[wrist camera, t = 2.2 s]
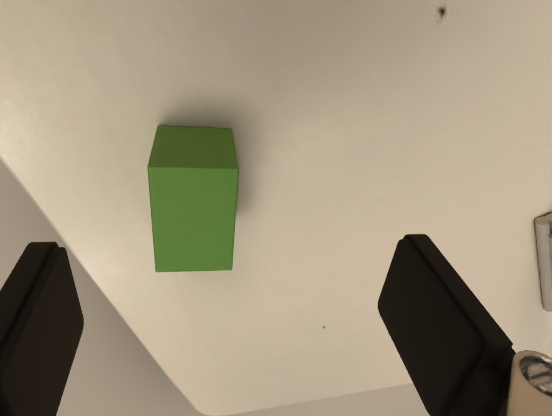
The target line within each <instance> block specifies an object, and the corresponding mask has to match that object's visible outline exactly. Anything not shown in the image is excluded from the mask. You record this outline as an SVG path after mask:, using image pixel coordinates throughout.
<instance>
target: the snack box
mask: <svg viewBox="0 0 552 416" xmlns="http://www.w3.org/2000/svg"><path fill="white" fill-rule="evenodd" d="M238 170H239V169H238V163H237V157H236V152H235V146H234V140H233V134H232V129H227V128H205V127H182V126H160V125H159V126H158V127H157V131H156V135H155V139H154V143H153V147H152V151H151V155H150V159H149V164H148V179H149V192H150V205H151V218H152V231H153V244H154V257H155V270H156V272H180V271H218V270H232V262H233V247H234V232H235V216H236V201H237V186H238Z"/></svg>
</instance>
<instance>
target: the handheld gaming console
mask: <svg viewBox="0 0 552 416" xmlns="http://www.w3.org/2000/svg"><path fill="white" fill-rule="evenodd" d="M535 229H536V239H537V250H538V260H539V271H540V281H541V292H542V302H543V309H544V310H546V311H548V312H551V311H552V213H550V214H548V215H546V216H545V217H544V216H541V217H537V218H536V219H535Z"/></svg>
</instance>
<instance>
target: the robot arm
mask: <svg viewBox="0 0 552 416" xmlns="http://www.w3.org/2000/svg"><path fill="white" fill-rule="evenodd" d="M378 310H379V313H380V316H381V318H382V320H383V322H384V324H385V326H386V328H387V330H388V332H389V334H390V336H391V338H392V340H393V342H394V344H395V346H396V349H397V351H398V353H399V355H400V357H401V359H402V361H403V363H404V365H405V367H406V369H407V371H408V373H409V375H410V377H411V379H412V381H413V383H414V385H415V387H416V390H417V392H418V394H419V396H420V398H421V400H422V402H423V404H424V406H425V408H426V410H427V412H428V413H429V414H430V416H552V358H551V357H549V356H547V355H545V354H542V353H539V352H536V351H529V350H525V351H519V352H518V353H517V354H516V353H515V351H514V350H513V349H512V347H511V346H512V345H513V343H512V342H511V341H510V339H509V338H508V337H507V336H506V334H505V333H504V332H503V330H502V329H501V328H500V327H499V325H498V324H497V323H496V322H495V320H494V319H493V318H492V317H491V315H490V314H489V313H488V311H487V310H486V309H485V308H484V306H483V305H482V304H481V303H480V301H479V300H478V299H477V298H476V296H475V295H474V294H473V292H472V291H471V290H470V289H469V287H468V286H467V285H466V284H465V282H464V281H463V280H462V279H461V277H460V276H459V275H458V273H457V272H456V271H455V270H454V268H453V267H452V266H451V265H450V263H449V262H448V261H447V260H446V258H445V257H444V256H443V254H442V253H441V252H440V251H439V249H438V248H437V247H436V246H435V244H434V243H433V242H432V241H431V239H430V238H429V237H428V236H427V235H425V234H408V235H405V236H404V238H403V239H401V240H399V242H398V244H397V247H396V250H395V253H394V256H393V259H392V262H391V265H390V268H389V271H388V274H387V277H386V280H385V283H384V285H383V288H382V291H381V294H380V297H379V300H378ZM83 325H84V319H83V314H82V310H81V306H80V303H79V298H78V295H77V291H76V287H75V283H74V279H73V276H72V271H71V268H70V264H69V259H68V256H67V252H66V249H65V248H64V247H59V246H58V244H57V243H56V242H31V243H29V244H28V245H27V247H26V249H25V250H24V252H23V254H22V255H21V257H20V259H19V260H18V262H17V264H16V265H15V267H14V269H13V270H12V272H11V274H10V275H9V277H8V279H7V281H6V282H5V284H4V286H3V287H2V289H1V291H0V416H56V414H57V411H58V407H59V404H60V401H61V398H62V395H63V391H64V388H65V385H66V382H67V379H68V376H69V372H70V369H71V366H72V363H73V360H74V357H75V353H76V350H77V347H78V344H79V341H80V338H81V335H82V331H83Z"/></svg>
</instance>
